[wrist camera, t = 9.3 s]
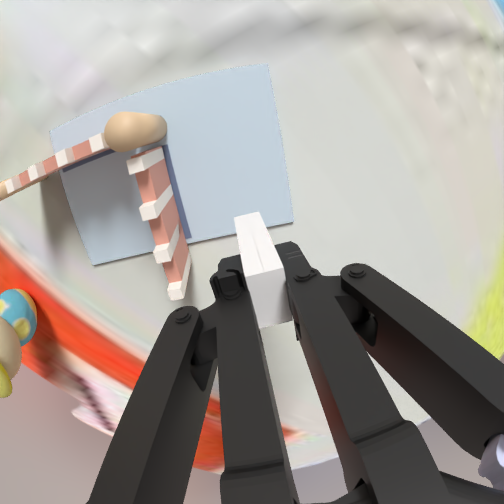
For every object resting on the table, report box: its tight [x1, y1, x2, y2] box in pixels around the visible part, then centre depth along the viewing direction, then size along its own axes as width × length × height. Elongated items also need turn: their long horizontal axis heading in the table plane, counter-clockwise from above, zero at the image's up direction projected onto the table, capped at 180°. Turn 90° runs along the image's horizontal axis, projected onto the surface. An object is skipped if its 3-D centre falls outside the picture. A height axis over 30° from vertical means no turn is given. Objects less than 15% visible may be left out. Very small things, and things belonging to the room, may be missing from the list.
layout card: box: [50, 63, 294, 265], centre depth 21 cm, size 20×14×1 cm
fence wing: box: [126, 146, 192, 301], centre depth 20 cm, size 10×1×6 cm, turn 10°
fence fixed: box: [0, 112, 167, 201], centre depth 17 cm, size 14×2×8 cm, turn 101°
